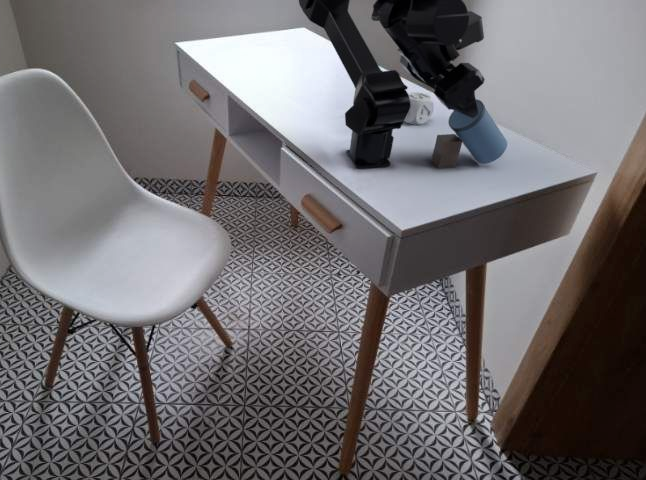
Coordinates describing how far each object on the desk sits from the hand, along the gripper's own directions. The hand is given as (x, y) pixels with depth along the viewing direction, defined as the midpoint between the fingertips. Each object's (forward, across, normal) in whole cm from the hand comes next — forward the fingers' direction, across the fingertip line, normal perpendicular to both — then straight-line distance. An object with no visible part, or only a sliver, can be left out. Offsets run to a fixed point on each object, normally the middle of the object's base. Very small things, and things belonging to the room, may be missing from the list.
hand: (462, 104), depth 86 cm
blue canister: (+11, 0, +4) cm, 12 cm away
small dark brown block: (+7, 0, +8) cm, 11 cm away
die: (+9, +20, +7) cm, 23 cm away
